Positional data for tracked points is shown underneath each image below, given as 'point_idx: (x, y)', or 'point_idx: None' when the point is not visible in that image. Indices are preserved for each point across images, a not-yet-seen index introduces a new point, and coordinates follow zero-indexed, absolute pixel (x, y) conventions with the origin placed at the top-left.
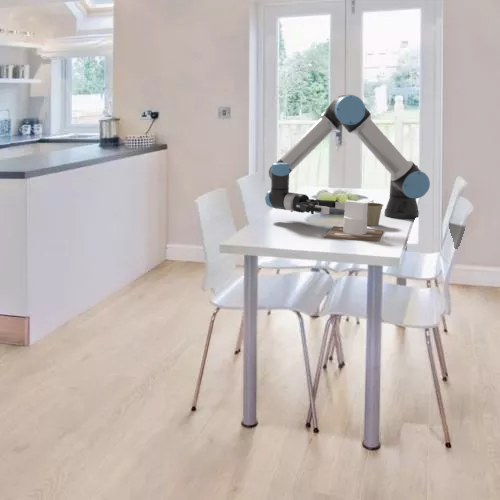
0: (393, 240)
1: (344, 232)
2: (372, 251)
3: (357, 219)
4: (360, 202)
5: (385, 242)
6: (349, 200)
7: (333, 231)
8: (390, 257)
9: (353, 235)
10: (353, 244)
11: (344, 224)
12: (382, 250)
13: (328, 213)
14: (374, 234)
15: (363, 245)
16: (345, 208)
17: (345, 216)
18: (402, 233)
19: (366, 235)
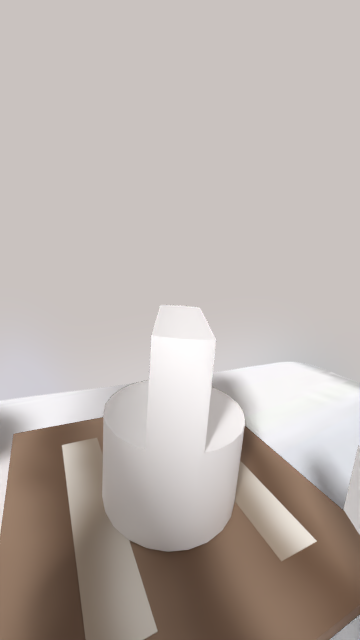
0: None
1: (231, 512)
2: (310, 385)
3: (218, 390)
4: (188, 311)
5: None
6: (169, 332)
7: (260, 610)
8: (305, 363)
9: None
10: (315, 428)
11: (235, 474)
12: (280, 379)
13: (355, 503)
14: None
15: (291, 410)
16: (209, 392)
17: (206, 443)
18: (33, 399)
19: None
